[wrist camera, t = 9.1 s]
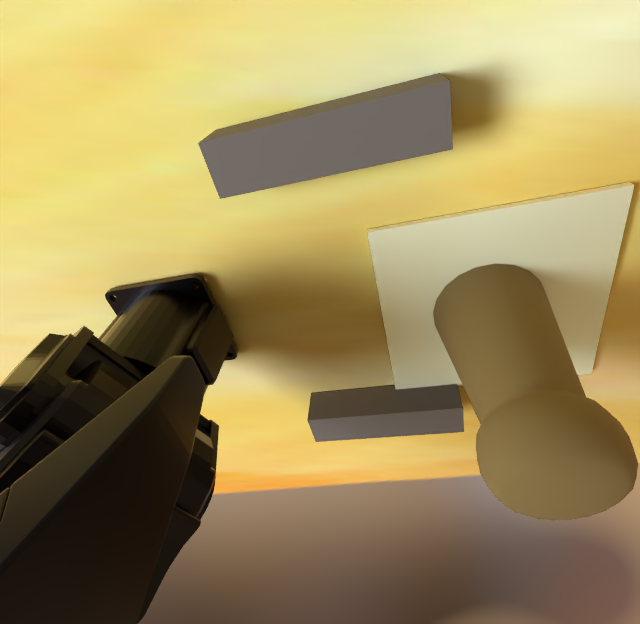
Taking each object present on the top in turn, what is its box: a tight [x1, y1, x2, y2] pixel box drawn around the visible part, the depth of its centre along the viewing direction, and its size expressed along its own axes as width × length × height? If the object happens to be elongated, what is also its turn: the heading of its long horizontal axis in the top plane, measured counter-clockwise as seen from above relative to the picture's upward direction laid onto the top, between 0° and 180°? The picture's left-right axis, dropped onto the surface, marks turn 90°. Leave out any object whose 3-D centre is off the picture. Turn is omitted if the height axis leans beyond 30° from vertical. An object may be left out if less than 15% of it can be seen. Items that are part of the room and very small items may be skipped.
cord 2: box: [198, 73, 453, 199], centre depth 17 cm, size 10×2×2 cm, turn 104°
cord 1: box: [308, 384, 464, 442], centre depth 27 cm, size 10×2×2 cm, turn 104°
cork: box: [433, 263, 638, 520], centre depth 18 cm, size 6×6×11 cm
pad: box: [367, 182, 634, 389], centre depth 22 cm, size 12×12×1 cm
